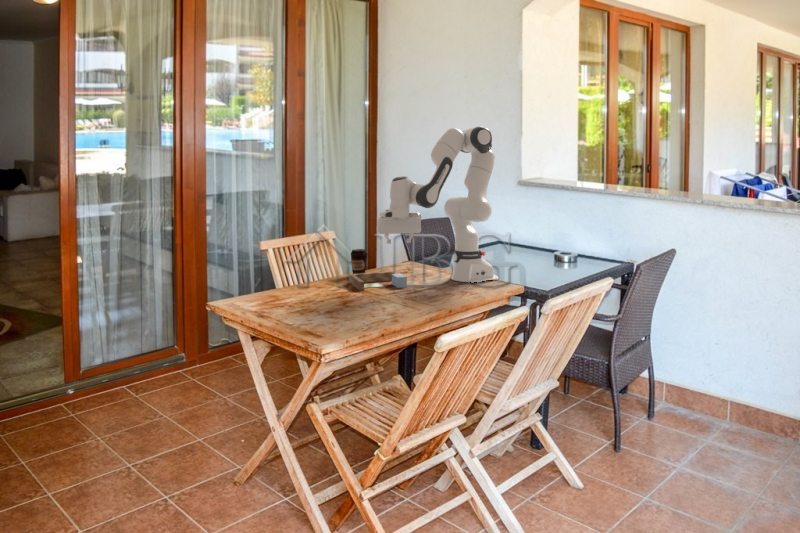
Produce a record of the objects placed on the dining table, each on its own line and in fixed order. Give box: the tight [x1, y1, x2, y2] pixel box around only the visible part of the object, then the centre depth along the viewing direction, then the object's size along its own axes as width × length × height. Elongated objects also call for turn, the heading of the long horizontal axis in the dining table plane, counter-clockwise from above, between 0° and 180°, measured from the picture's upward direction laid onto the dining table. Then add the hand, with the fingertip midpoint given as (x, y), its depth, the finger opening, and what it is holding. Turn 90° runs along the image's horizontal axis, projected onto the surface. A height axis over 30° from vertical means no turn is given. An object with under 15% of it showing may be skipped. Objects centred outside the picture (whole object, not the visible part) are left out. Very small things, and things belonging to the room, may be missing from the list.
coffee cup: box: [350, 248, 369, 274], centre depth 366 cm, size 9×8×13 cm
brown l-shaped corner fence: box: [348, 270, 396, 292], centre depth 347 cm, size 22×18×4 cm
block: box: [391, 273, 408, 289], centre depth 345 cm, size 4×8×5 cm, turn 19°
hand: (398, 243), depth 342 cm, fingers open, 8 cm apart
